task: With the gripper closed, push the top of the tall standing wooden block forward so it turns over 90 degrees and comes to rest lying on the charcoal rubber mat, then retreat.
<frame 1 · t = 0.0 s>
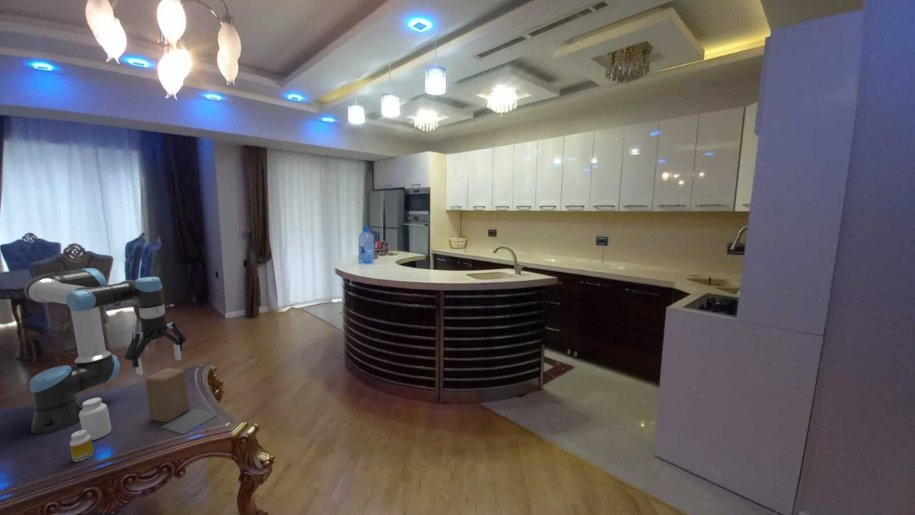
hand: (160, 366, 140), 28 cm above the table, fingers open, 13 cm apart
pill bottle: (97, 435, 141), on the table
wooden block: (170, 415, 154), on the table
mat: (190, 421, 150), on the table
supplement bottle: (83, 457, 129), on the table
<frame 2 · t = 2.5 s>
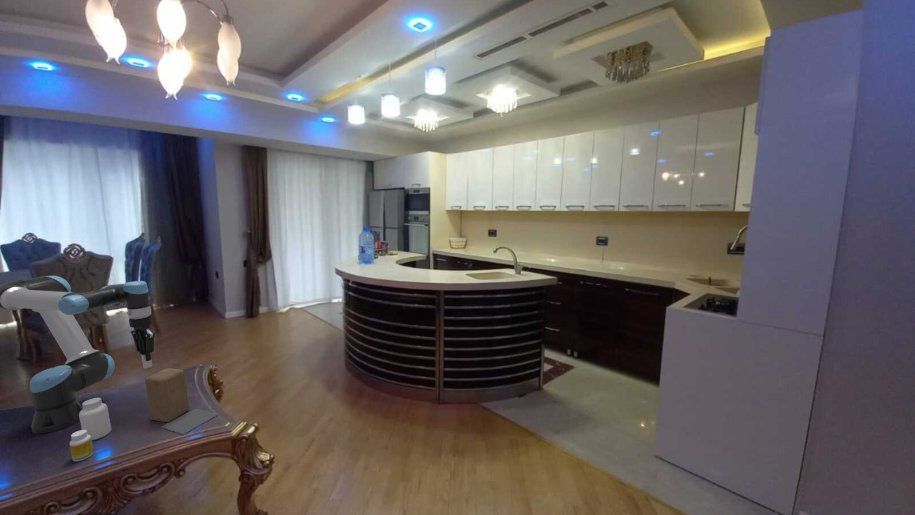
hand: (147, 367, 155), 21 cm above the table, fingers closed
nothing on the table moved.
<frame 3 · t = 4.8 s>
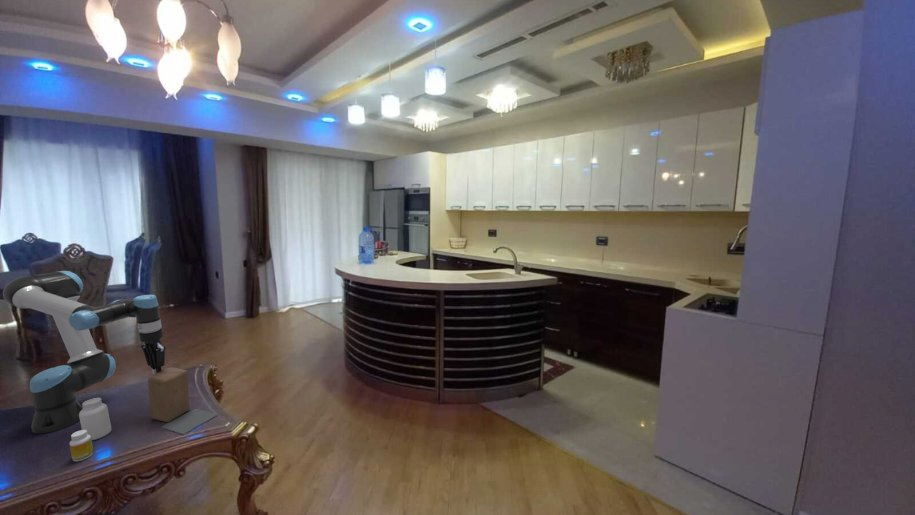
hand: (158, 380, 154), 15 cm above the table, fingers closed
wooden block: (170, 414, 154), on the table, touching gripper
everything else where it was.
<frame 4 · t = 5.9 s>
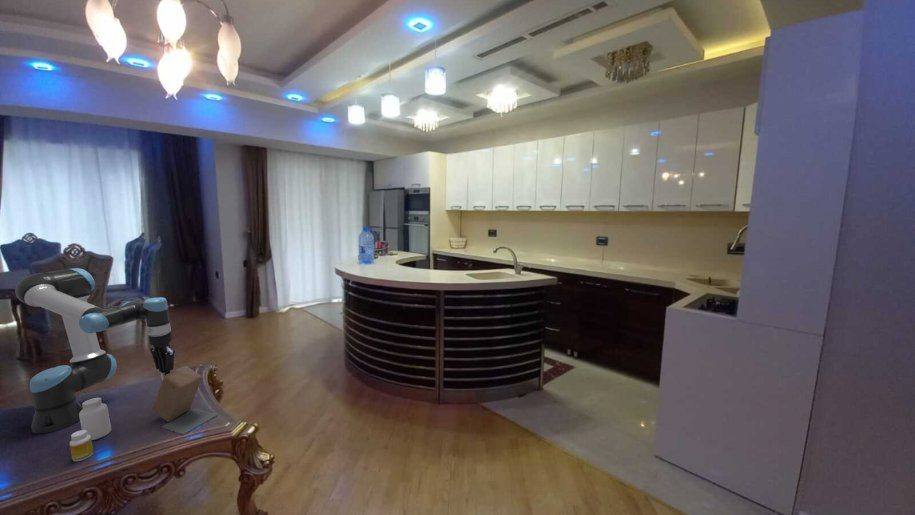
hand: (167, 384, 152), 15 cm above the table, fingers closed
wooden block: (170, 410, 154), point 2 cm above the table
everything else where it was.
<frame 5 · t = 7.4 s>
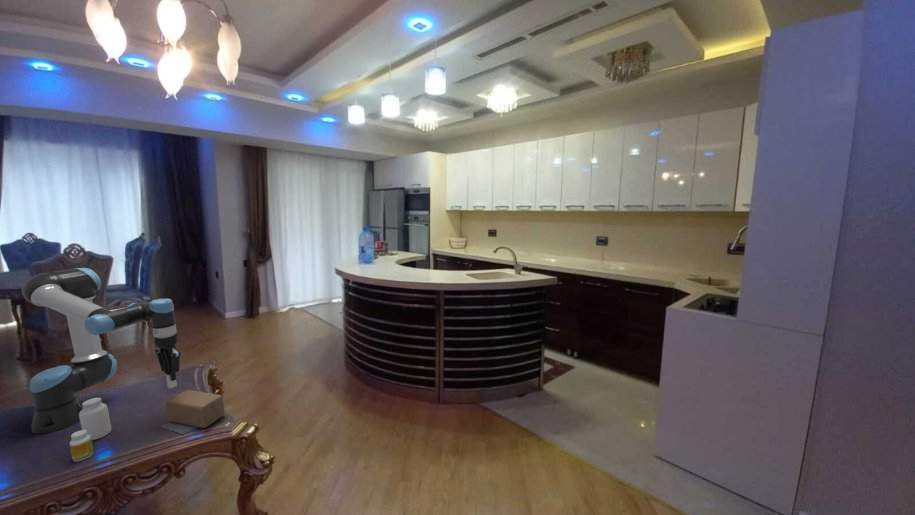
hand: (172, 386, 150), 14 cm above the table, fingers closed
wooden block: (177, 405, 152), point 5 cm above the table, touching mat
everything else where it was.
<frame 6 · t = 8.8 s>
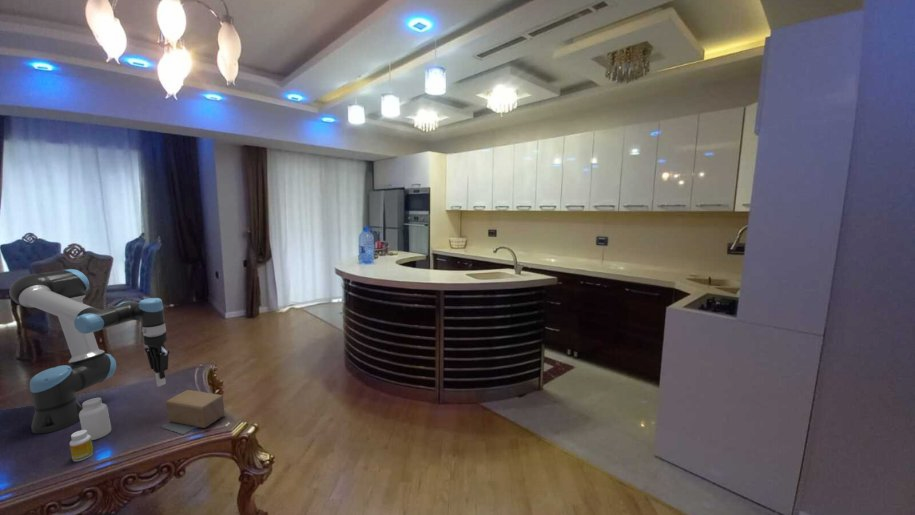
hand: (161, 384, 153), 14 cm above the table, fingers closed
nothing on the table moved.
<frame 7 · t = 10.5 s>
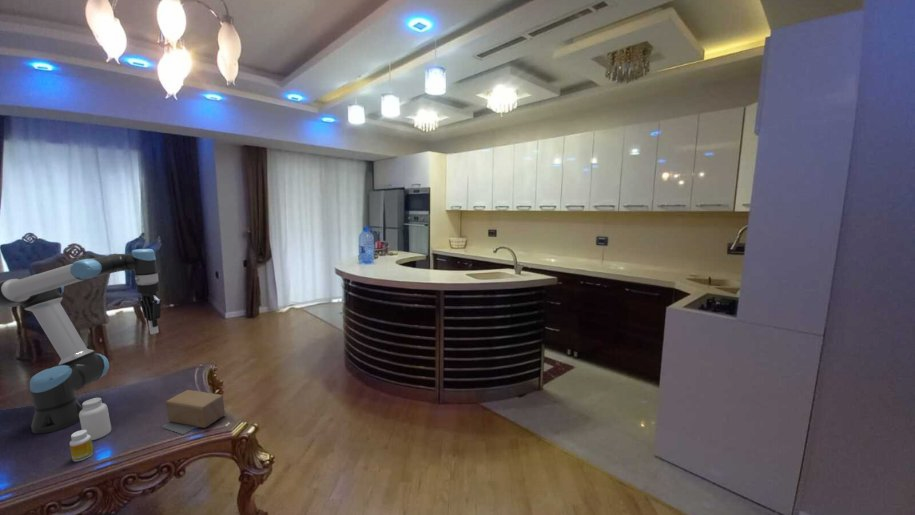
hand: (154, 333, 159), 34 cm above the table, fingers closed
nothing on the table moved.
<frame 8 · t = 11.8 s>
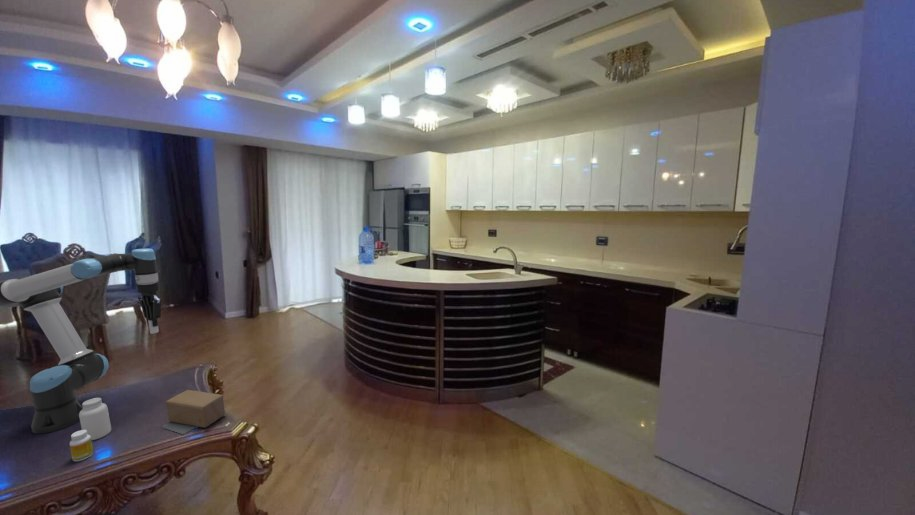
hand: (154, 332, 159), 34 cm above the table, fingers closed
nothing on the table moved.
at the end: wooden block tilted 90°; wooden block inside the target area (10.5 cm from its centre), point 5.5 cm above the table; wooden block moved 7.1 cm from its start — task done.
